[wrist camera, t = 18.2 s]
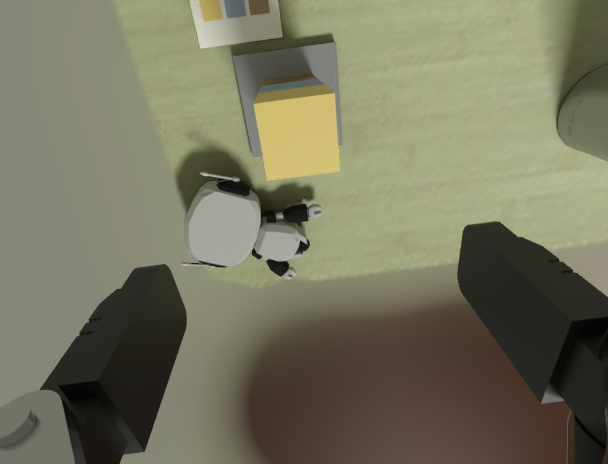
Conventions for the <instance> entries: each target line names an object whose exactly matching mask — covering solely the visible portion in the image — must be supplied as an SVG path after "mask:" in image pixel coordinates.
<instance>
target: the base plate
mask: <svg viewBox="0 0 608 464" xmlns="http://www.w3.org/2000/svg"><path fill="white" fill-rule="evenodd" d="M233 59H234V65H235V70H236V75H237V80H238V85H239V90H240V95H241V100H242V105H243V110H244V115H245V120H246V125H247V130H248V135H249V140H250V145H251V150H252V155H253V157H258V156H263V155H262V149H261V143H260V138H259V132H258V127H257V121H256V116H255V110H254V101H255V99H256V97H257V93H258V91H259V89H260V86H261V84H262V82H263V81H266V80H273V79H280V78H288V77H295V76H302V75H310V74H313V75H314V76H315V77H316V78H318V79H319V80H320V81H321V82H322V83H323V84H326V85H327V86H328V87H329V88H330V89H331V90H332V91H333V92H334V93H335V103H336V119H337V134H338V146H340V145H342V130H341V114H340V98H339V82H338V66H337V50H336V42H332V43H324V44H317V45H310V46H303V47H295V48H288V49H281V50H273V51H266V52H259V53H251V54H244V55H237V56H233Z"/></svg>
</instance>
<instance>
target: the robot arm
mask: <svg viewBox="0 0 608 464" xmlns="http://www.w3.org/2000/svg"><path fill="white" fill-rule="evenodd" d="M558 132H559V135H560V138H561V139H562V141H563V142H564V143H565V144H566V145H567V146H569V147H571V148H573V149H576V150H579V151H581V152H584V153H587V154H590V155H592V156H595V157H598V158H600V159H603V160H605V161H608V65H606V66H603V67H600V68H598V69H596V70H594V71H592V72H591V73H589V74H588V75H587V76H585V77H584V78H583V79H581V80H580V81H579V82H578V83H577V84H576V85H575V86H574V87H573V89H572V90H571V91H570V93H569V94H568V95H567V97H566V99H565V101H564V103H563V105H562V107H561V110H560V113H559V117H558ZM457 275H458V283H459V287H460V290H461V292H462V294H463V295H464V297H465V298H466V300H467V301H468V303H469V304H470V305H471V307H472V308H473V310H474V311H475V312H476V314H477V315H478V317H479V318H480V319H481V321H482V322H483V323H484V325H485V326H486V328H487V329H488V330H489V332H490V333H491V334H492V336H493V337H494V339H495V340H496V341H497V343H498V344H499V346H500V347H501V348H502V350H503V351H504V353H505V354H506V356H507V357H508V358H509V360H510V361H511V363H512V364H513V365H514V367H515V368H516V369H517V371H518V372H519V374H520V375H521V376H522V378H523V379H524V381H525V382H526V383H527V385H528V386H529V388H530V389H531V390H532V392H533V393H534V395H535V396H536V397H537V399H538V400H539V402H540V403H541V404H542V403H549V402H558V401H565V402H566V404H567V405H568V406H569V407H570V409H571V413H570V415H569V417H568V438H567V464H608V297H607V296H606V295H604V294H603V293H602V292H600V291H599V290H598V289H597V288H595V287H594V286H593V285H592V284H590V283H589V282H588V281H586V280H585V279H584V278H583V277H581V276H580V275H579V274H577V273H573V270H572V269H571V268H570V267H569V266H567V265H566V264H565V263H563V262H560V261H559V259H558V258H557V257H556V256H554V255H553V254H552V253H551V252H549V251H548V250H547V249H545V248H544V247H543V246H541V245H538V244H536V243H534V242H532V241H529V240H527V239H525V238H523V237H517V236H516V235H515V234H514V233H513V232H511V231H510V230H509V229H508V228H506V227H505V226H504V225H503V224H502V223H500V222H497V221H495V222H487V223H480V224H472V225H467V226H466V227H465V228H464V230H463V234H462V242H461V249H460V257H459V264H458V273H457ZM186 322H187V317H186V310H185V306H184V304H183V301H182V299H181V296H180V293H179V291H178V288H177V286H176V283H175V281H174V278H173V275H172V273H171V271H170V269H169V267H168V266H167V265H165V264H162V265H155V266H147V267H140V268H135V269H134V270H133V271H132V273H131V274H130V276H129V277H128V279H127V280H126V282H125V283H124V285H123V286H122V288H121V289H117V290H115V291H114V292H113V293H112V294H111V295H109V296H108V297H107V298H106V299H105V300H103V301H102V302H101V303H100V304H99V305H98V307H97V308H96V310H95V311H94V313H93V314H92V315H91V317H90V318H89V322H88V323H86V324H85V325H84V327H83V328H82V330H81V331H80V335H79V336H77V337H76V339H75V340H74V341H73V343H72V344H71V346H70V347H69V348H68V350H67V351H66V353H65V354H64V356H63V357H62V358H61V360H60V361H59V363H58V364H57V366H56V367H55V369H54V370H53V371H52V373H51V374H50V376H49V377H48V378H47V380H46V382H45V383H44V384H43V386H42V387H41V389H40V390H39V391H34V392H31V393H28V394H25V395H23V396H21V397H18V398H16V399H14V400H13V401H11V402H9V403H8V404H6V405H4V406H3V407H2V408H0V464H120V461H121V459H122V456H123V455H124V454H132V453H139V452H145V449H146V446H147V443H148V440H149V437H150V434H151V431H152V428H153V425H154V422H155V419H156V416H157V413H158V410H159V407H160V404H161V401H162V399H163V396H164V393H165V390H166V387H167V383H168V381H169V378H170V375H171V372H172V369H173V366H174V363H175V360H176V357H177V354H178V351H179V348H180V345H181V342H182V339H183V336H184V333H185V330H186V324H187V323H186Z"/></svg>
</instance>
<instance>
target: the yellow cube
mask: <svg viewBox="0 0 608 464" xmlns="http://www.w3.org/2000/svg"><path fill="white" fill-rule="evenodd" d="M254 110H255V116H256V121H257V127H258V132H259V138H260V143H261V149H262V155H263V160H264V166H265V171H266V177H267V181H269V180H277V179H285V178H292V177H300V176H308V175H316V174H323V173H331V172H339V171H340V165H339V149H338V134H337V119H336V103H335V93H334V92H333V91H332V90H331V89H330V88H329V87H328V86H327V85H326V84H324V85H316V86H308V87H301V88H293V89H286V90H278V91H270V92H263V93H258V95H257V97H256V99H255V101H254Z"/></svg>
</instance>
